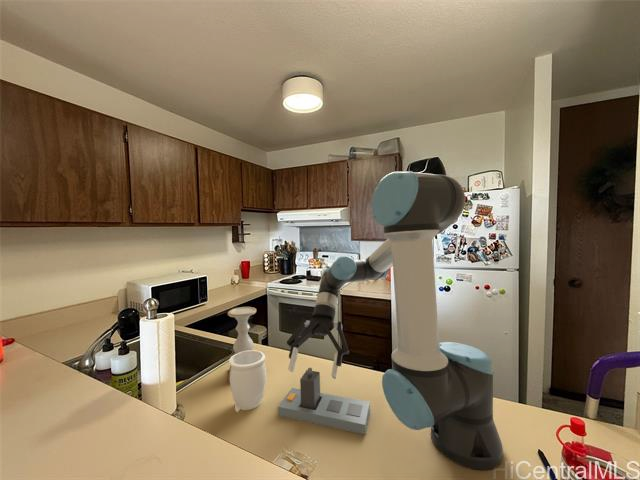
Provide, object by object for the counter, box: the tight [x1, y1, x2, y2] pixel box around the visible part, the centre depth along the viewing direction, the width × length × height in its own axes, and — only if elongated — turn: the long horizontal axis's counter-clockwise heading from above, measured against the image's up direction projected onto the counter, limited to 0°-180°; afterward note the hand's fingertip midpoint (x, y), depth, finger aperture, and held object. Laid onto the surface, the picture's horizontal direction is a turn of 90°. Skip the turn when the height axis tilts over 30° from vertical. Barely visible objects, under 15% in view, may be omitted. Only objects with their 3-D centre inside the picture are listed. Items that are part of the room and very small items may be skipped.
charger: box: [299, 367, 321, 410], centre depth 73 cm, size 4×5×12 cm
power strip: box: [277, 387, 371, 435], centre depth 72 cm, size 24×9×4 cm, turn 72°
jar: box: [228, 349, 267, 413], centre depth 78 cm, size 11×10×15 cm
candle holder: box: [227, 306, 257, 385], centre depth 96 cm, size 11×11×24 cm
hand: (311, 373), depth 76 cm, fingers open, 13 cm apart
